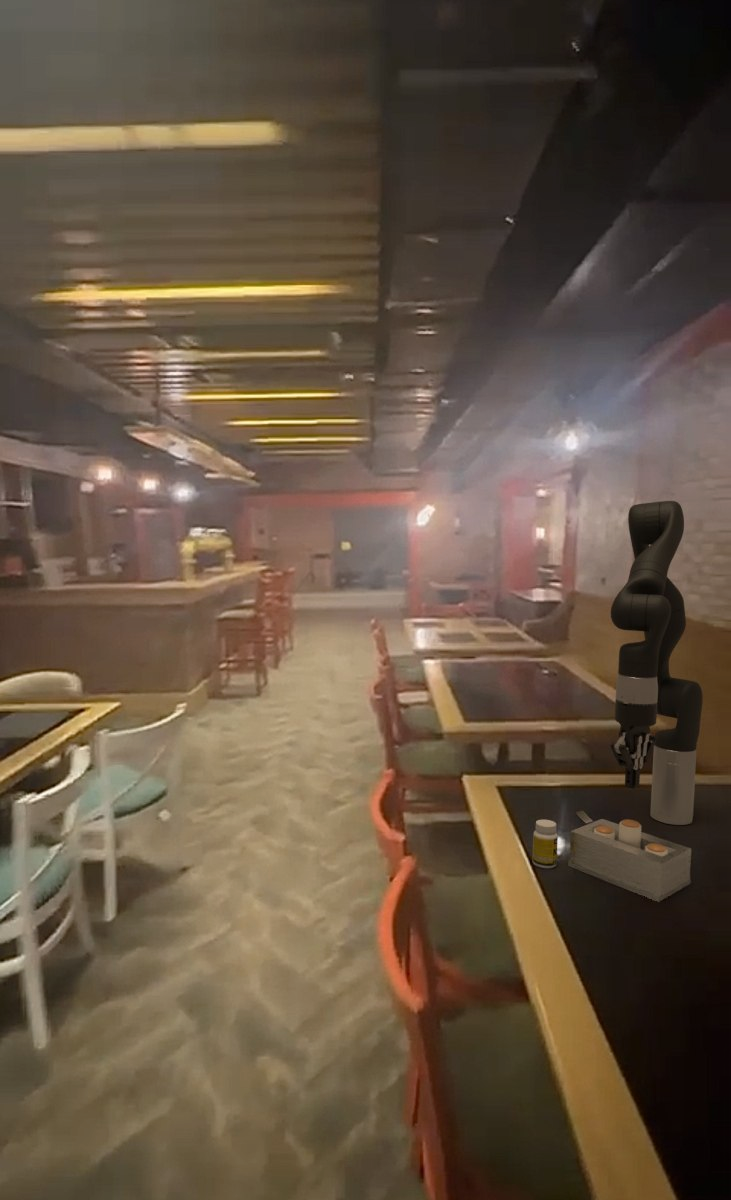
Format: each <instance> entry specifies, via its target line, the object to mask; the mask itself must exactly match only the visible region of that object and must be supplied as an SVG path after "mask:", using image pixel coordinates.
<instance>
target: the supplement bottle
mask: <svg viewBox="0 0 731 1200" xmlns="http://www.w3.org/2000/svg"><path fill="white" fill-rule="evenodd" d="M558 835H559V834H557V823H556V822H555V821H553V820H549V819H538V820H536V822H535V830H534V831H533V835H532V836H533V837H532V859H531V860H532V864H533V865H534V866H535V867H537V868H541V869H553V868H555V867H556V866H557V863H558V862H557V860H558Z"/></svg>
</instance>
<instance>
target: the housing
mask: <svg viewBox="0 0 731 1200" xmlns="http://www.w3.org/2000/svg"><path fill="white" fill-rule="evenodd" d="M597 826H607V827H610V828H612V829H613V830H614V831H615V840H614V839H611V838H608V837H605V836H602V835H599V834H596V833H594V828H596V827H597ZM651 843H655V844H660V845H663V846H664V847H665V848H666V849H667V850H668V854H667V855H665V856H663V857H662V856H659V855H656V854H653V853H650V852H648V851H645V846H646V845H648V844H651ZM569 847H570V848H569V849H570V850H569V860H568V862H567V863H568V864H567V866H568V867H570V868H573V869H574V870H577V871H580V872H582V873H585V874H587V875H589V876H592V877H595V878H596V879H599V880H602V881H604V882H607V883H610V884H612V885H614V886H616V887H620V888H622V889H624V890H626V891H629V892H632V893H634V894H636V893H637V895H639V896H641V895H642V896H641V897H644V896H645V897H644V898H646V897H647V899H650V900H651V899H652V901H654V902H656V901H657V902H656V903H660V902H662V901H663V900H666V899H667V898H668V896H669V897H670V896H672V895H674V894H675V893H677V892H679V891H681V890H682V889H684V888H686V887H688V886H689V885H691V883H692V878H691V861H692V860H691V859H692V848H691V847H688V846H685V845H682V844H679V843H677V842H673V841H670V840H667V839H664V838H661V837H657V836H655V835H652V834H649V833H646V832H642V831H641V844H640V849H639V848H636V847H633V846H631V845H628V844H625V843H622V842H619V823H616V822H613V821H610V820H608V819H603V818H600V819H598V820H595V821H592V822H589V823H587V824H586V825H582V826H580V827H578V828H576V829H573V830H571V831H570V846H569Z"/></svg>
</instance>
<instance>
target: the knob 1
mask: <svg viewBox="0 0 731 1200" xmlns="http://www.w3.org/2000/svg"><path fill="white" fill-rule="evenodd" d="M594 833H596V834H599V835H602V836H605V837H608V838H611V839H614V840H615V831H614V830H613V829H612V828H610V827H607V826H597V827H596V828H594Z"/></svg>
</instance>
